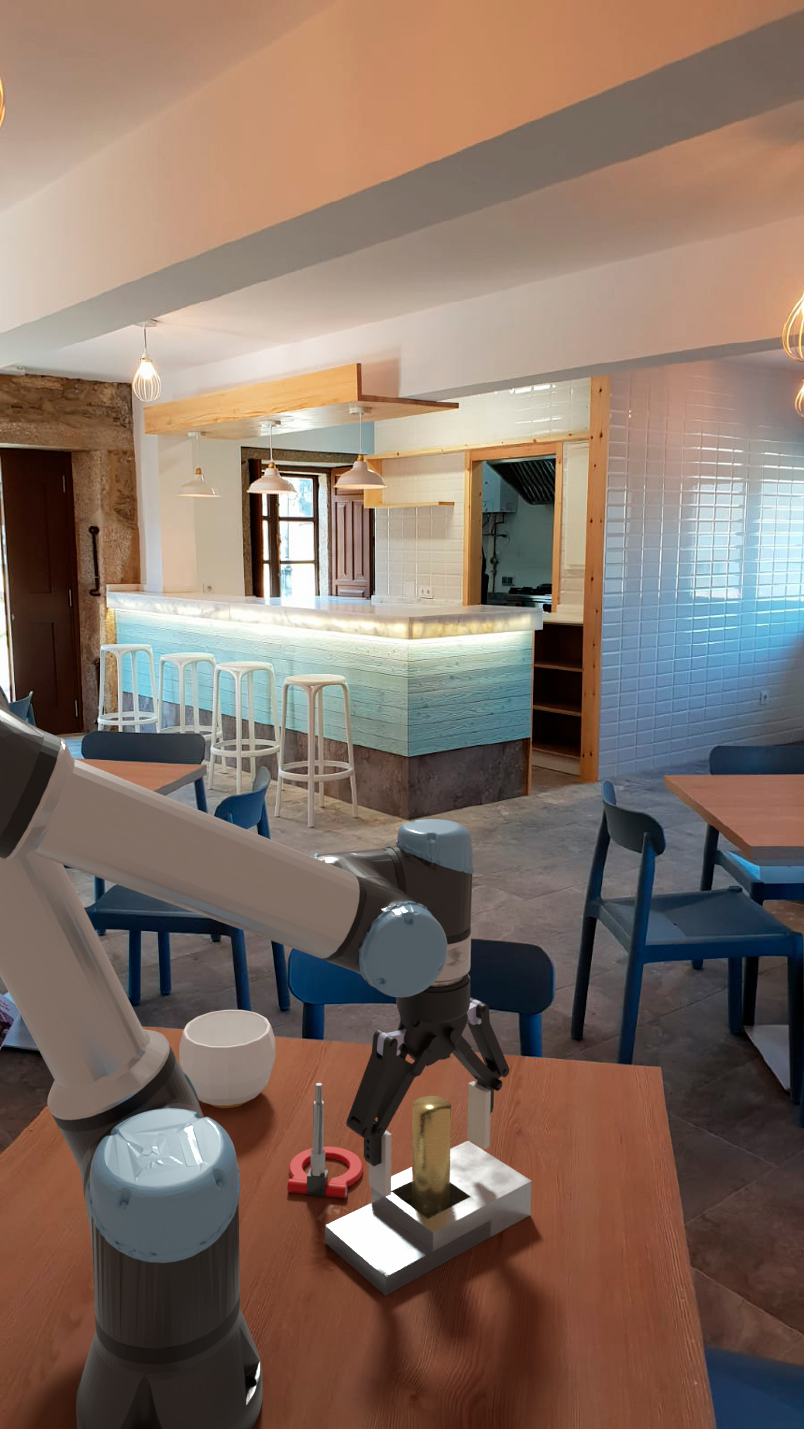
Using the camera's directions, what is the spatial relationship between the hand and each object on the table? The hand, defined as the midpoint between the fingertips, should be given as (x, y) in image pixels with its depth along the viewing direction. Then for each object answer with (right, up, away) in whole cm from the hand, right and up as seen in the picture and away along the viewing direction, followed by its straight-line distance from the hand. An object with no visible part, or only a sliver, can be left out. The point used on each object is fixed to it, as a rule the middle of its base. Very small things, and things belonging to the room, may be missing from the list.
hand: (431, 1165), depth 109 cm
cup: (-26, -3, +28) cm, 38 cm away
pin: (0, -7, +1) cm, 7 cm away
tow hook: (-12, -6, +11) cm, 17 cm away
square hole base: (0, -7, +1) cm, 7 cm away
